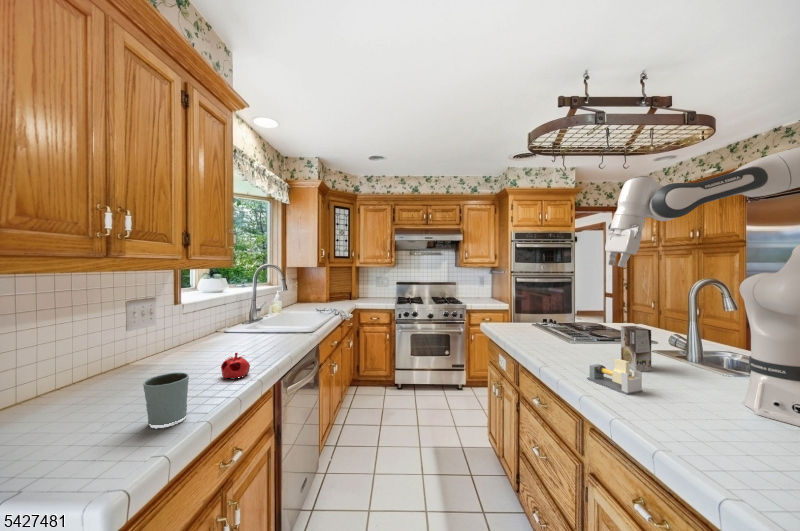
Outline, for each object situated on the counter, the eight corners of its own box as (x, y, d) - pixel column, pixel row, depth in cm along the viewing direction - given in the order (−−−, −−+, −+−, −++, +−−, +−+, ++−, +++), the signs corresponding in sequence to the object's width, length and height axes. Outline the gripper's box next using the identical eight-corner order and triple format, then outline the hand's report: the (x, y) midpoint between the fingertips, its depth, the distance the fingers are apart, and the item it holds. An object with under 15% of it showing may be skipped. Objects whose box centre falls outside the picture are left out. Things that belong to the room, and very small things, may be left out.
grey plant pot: (195, 412, 96) (195, 371, 96) (178, 429, 86) (178, 383, 86) (157, 415, 94) (156, 373, 94) (135, 433, 84) (134, 386, 84)
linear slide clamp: (642, 391, 108) (642, 371, 108) (626, 394, 106) (626, 374, 106) (601, 377, 122) (601, 359, 122) (586, 379, 120) (586, 361, 120)
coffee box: (652, 371, 128) (652, 329, 128) (635, 371, 128) (635, 330, 128) (635, 364, 137) (635, 325, 137) (620, 364, 137) (620, 325, 137)
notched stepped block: (631, 383, 109) (631, 361, 109) (623, 385, 108) (623, 362, 108) (620, 379, 113) (620, 358, 113) (612, 381, 112) (612, 359, 112)
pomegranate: (234, 372, 132) (234, 349, 132) (255, 373, 130) (255, 350, 130) (214, 380, 123) (214, 355, 123) (236, 382, 120) (236, 356, 120)
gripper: (651, 225, 99) (639, 270, 101) (626, 229, 119) (615, 266, 120) (628, 221, 101) (616, 265, 102) (606, 225, 120) (596, 262, 122)
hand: (615, 266), depth 112 cm, fingers open, 8 cm apart
